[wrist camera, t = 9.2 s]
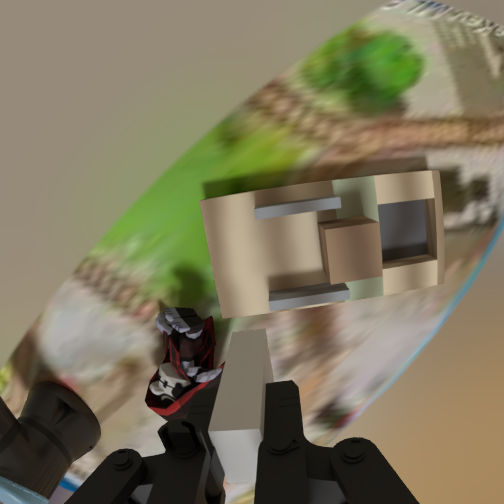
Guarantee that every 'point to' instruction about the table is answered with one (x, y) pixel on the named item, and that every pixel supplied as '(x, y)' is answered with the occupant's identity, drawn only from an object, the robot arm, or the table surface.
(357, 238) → the block
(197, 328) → the toy
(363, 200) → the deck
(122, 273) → the table surface
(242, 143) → the table surface
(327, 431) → the table surface
